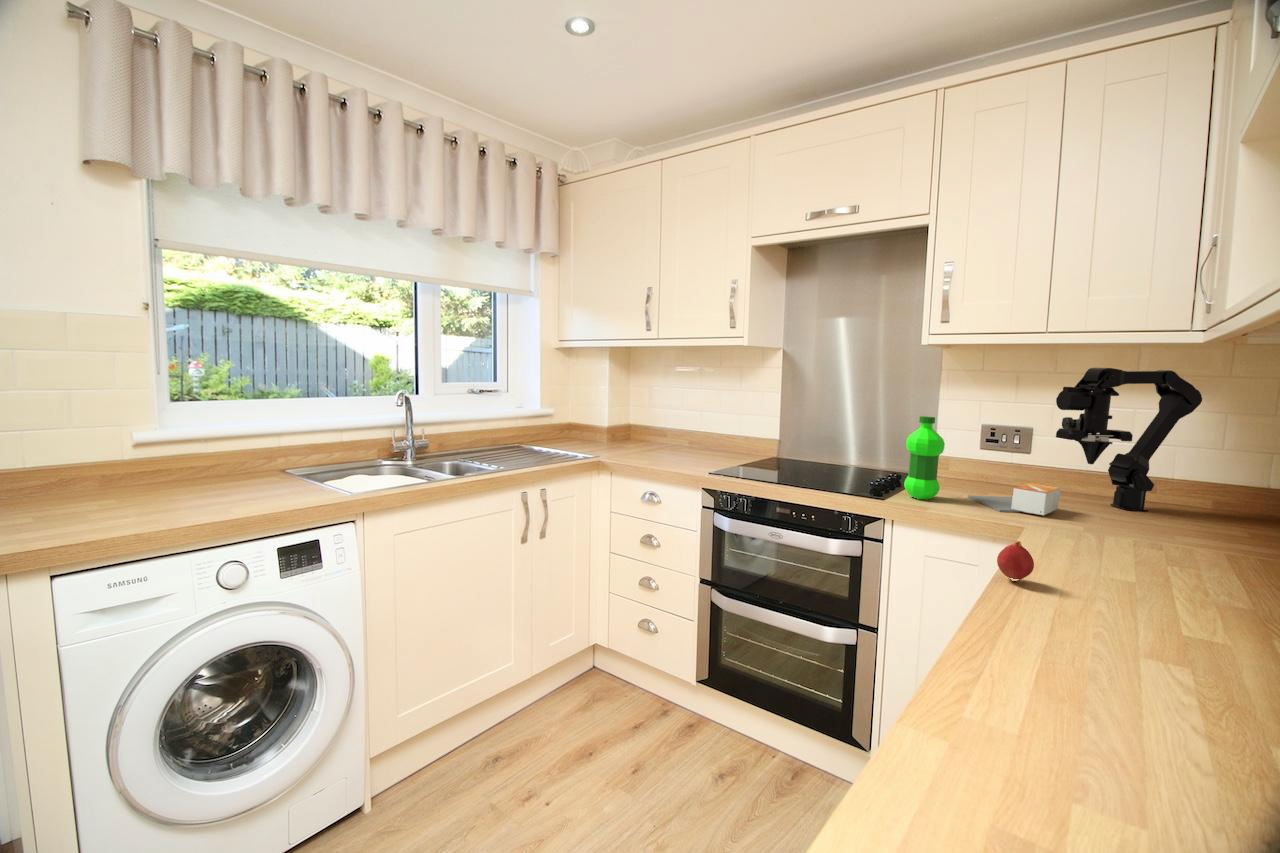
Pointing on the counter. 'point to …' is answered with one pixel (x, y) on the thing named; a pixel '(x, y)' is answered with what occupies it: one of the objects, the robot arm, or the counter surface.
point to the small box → (1035, 498)
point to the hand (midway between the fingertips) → (1090, 464)
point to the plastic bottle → (924, 460)
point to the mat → (996, 502)
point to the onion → (1015, 561)
